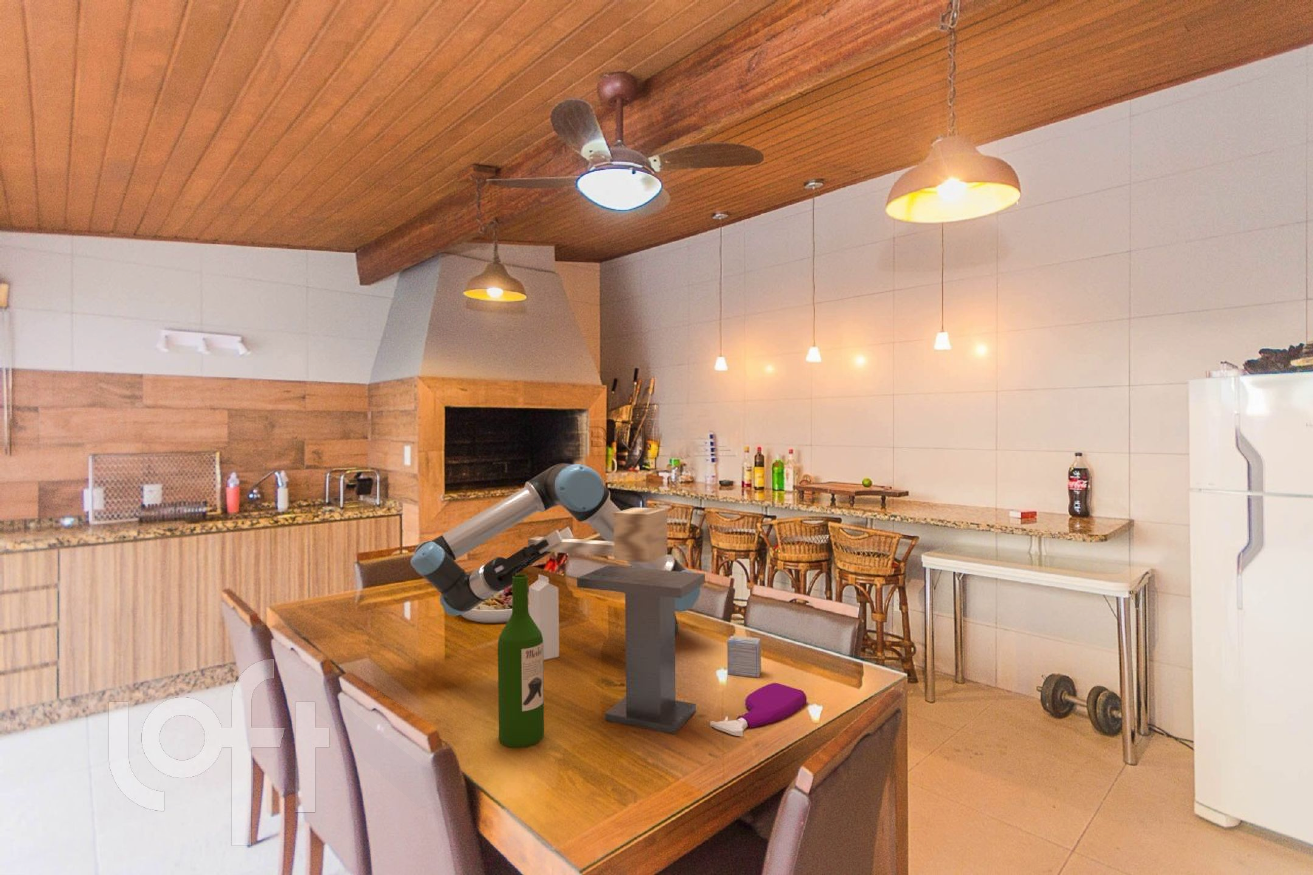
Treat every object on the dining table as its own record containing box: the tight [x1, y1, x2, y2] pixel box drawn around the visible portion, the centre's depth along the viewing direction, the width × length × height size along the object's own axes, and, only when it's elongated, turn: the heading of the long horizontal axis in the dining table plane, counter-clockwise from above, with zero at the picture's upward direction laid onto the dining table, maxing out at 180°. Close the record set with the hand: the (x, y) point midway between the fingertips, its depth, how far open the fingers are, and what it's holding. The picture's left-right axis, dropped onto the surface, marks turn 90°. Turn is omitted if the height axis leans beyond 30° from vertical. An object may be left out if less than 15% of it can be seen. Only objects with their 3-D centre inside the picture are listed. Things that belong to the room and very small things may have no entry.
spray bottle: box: [709, 682, 808, 738], centre depth 140 cm, size 3×11×24 cm
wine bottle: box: [497, 574, 545, 749], centre depth 130 cm, size 9×9×32 cm
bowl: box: [460, 585, 530, 624], centre depth 221 cm, size 30×30×8 cm
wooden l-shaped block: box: [527, 507, 669, 563], centre depth 145 cm, size 32×10×10 cm, turn 66°
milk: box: [528, 573, 560, 661], centre depth 177 cm, size 6×6×22 cm
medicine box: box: [726, 635, 762, 678], centre depth 164 cm, size 8×4×9 cm, turn 71°
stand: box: [576, 564, 706, 735], centre depth 141 cm, size 24×14×30 cm, turn 66°
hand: (564, 533), depth 148 cm, fingers closed on wooden l-shaped block, 4 cm apart
